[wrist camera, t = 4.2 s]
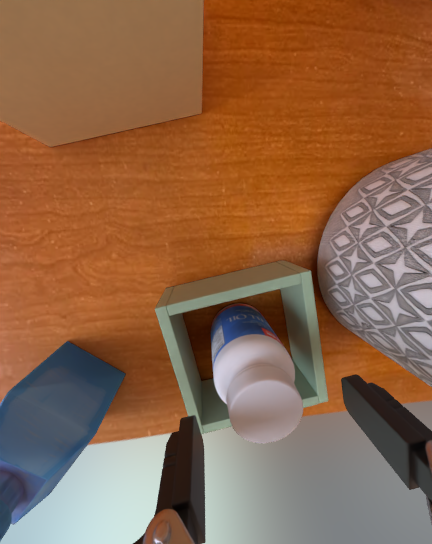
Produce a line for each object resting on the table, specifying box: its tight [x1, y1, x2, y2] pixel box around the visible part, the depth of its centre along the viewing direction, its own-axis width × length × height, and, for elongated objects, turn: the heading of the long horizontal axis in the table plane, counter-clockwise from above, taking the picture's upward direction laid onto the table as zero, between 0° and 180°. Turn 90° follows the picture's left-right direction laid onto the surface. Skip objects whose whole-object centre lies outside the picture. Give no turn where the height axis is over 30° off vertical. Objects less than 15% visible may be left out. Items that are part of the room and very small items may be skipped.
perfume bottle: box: [0, 341, 126, 541], centre depth 15 cm, size 6×6×12 cm
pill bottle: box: [210, 303, 303, 443], centre depth 16 cm, size 6×5×10 cm
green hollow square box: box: [155, 260, 328, 434], centre depth 18 cm, size 11×11×5 cm
